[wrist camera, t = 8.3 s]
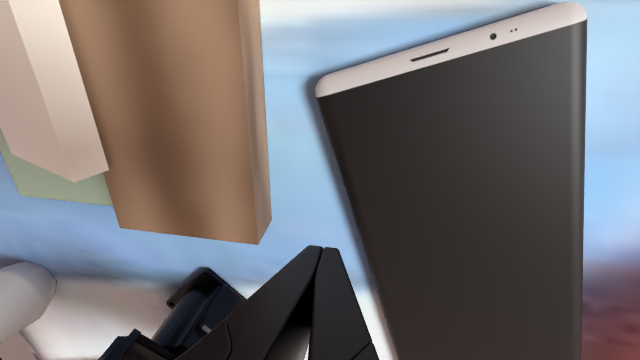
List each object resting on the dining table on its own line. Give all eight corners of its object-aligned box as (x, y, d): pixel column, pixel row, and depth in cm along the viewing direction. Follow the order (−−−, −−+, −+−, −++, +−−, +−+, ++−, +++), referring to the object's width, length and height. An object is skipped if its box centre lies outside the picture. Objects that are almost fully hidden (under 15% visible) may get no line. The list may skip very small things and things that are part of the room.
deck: (250, -148, 15) (221, -185, 12) (271, 219, 24) (257, 244, 21) (60, -137, 16) (-3, -168, 14) (147, 206, 25) (120, 227, 22)
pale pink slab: (109, 169, 20) (73, 182, 18) (46, 145, 23) (11, 154, 22) (45, -44, 15) (-11, -52, 14) (-23, -34, 19) (-73, -40, 17)
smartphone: (404, 370, 30) (405, 389, 28) (313, 77, 19) (307, 82, 18) (571, 363, 26) (583, 385, 24) (572, -3, 16) (592, -5, 14)
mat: (77, -138, 16) (69, -142, 16) (159, 207, 25) (155, 210, 24) (-115, -127, 18) (-127, -131, 17) (26, 192, 27) (20, 195, 26)
